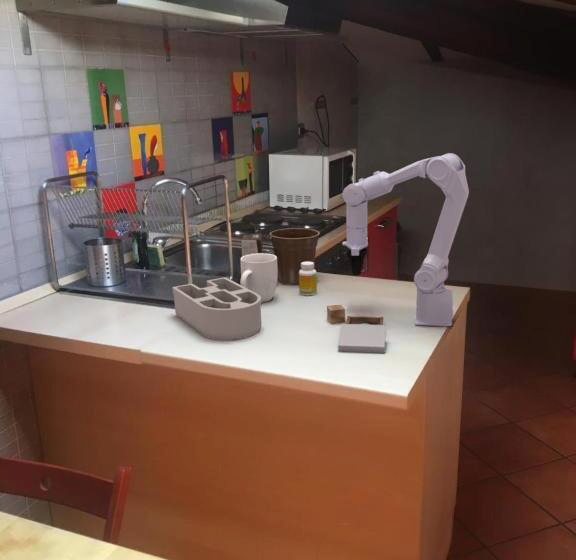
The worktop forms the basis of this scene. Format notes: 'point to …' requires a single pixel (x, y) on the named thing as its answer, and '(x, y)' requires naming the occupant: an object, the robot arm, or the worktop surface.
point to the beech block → (335, 314)
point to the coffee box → (251, 244)
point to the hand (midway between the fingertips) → (356, 274)
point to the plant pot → (293, 251)
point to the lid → (362, 338)
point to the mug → (260, 274)
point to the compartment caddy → (219, 309)
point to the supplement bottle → (307, 279)
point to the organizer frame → (365, 320)
